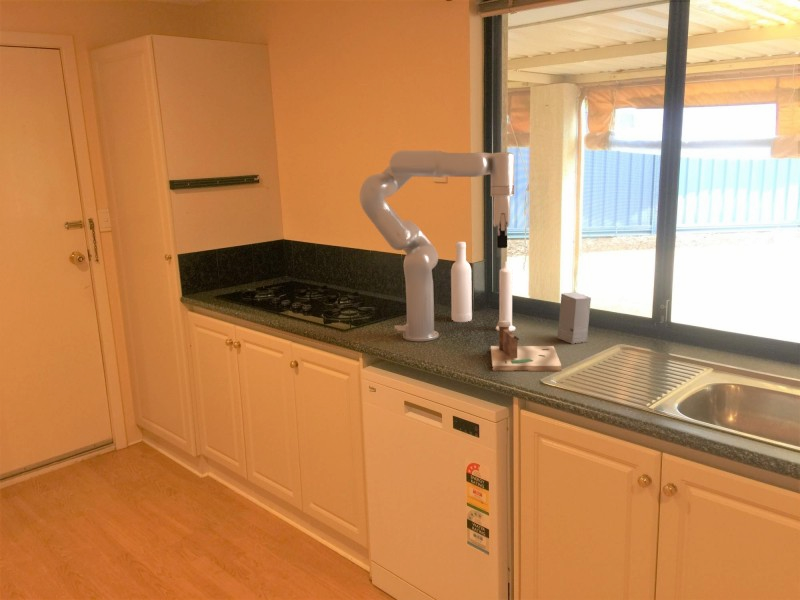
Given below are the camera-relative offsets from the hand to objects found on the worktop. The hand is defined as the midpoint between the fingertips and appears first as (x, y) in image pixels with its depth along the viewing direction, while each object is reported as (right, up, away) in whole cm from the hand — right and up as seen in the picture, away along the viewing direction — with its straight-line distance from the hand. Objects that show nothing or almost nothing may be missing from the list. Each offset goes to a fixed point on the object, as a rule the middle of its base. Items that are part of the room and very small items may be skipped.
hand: (502, 247), depth 222 cm
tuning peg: (0, -34, -14) cm, 37 cm away
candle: (+5, -28, +21) cm, 36 cm away
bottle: (-10, -25, +37) cm, 46 cm away
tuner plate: (+5, -36, -14) cm, 39 cm away
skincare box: (+25, -31, +5) cm, 40 cm away
